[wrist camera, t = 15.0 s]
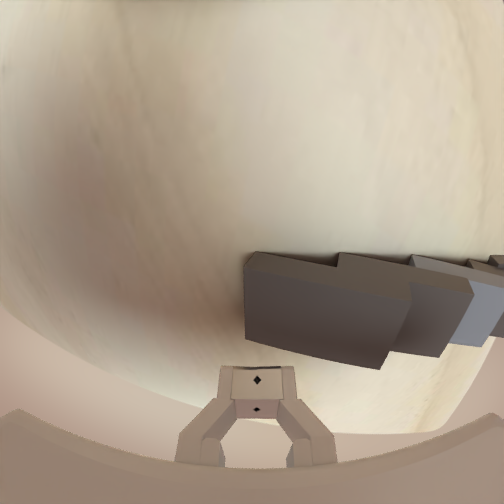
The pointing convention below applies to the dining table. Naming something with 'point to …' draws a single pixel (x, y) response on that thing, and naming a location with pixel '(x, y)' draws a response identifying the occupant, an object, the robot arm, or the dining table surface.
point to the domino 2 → (421, 303)
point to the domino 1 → (323, 309)
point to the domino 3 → (482, 305)
